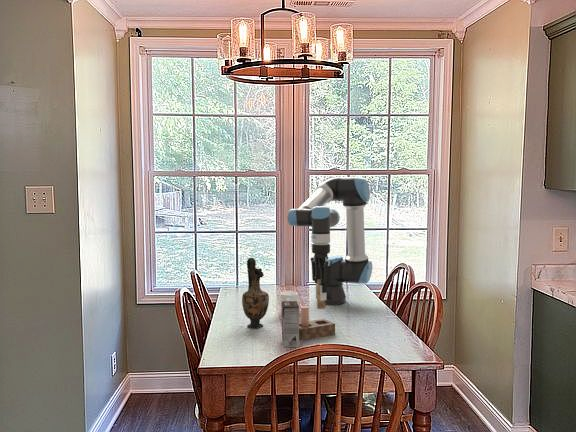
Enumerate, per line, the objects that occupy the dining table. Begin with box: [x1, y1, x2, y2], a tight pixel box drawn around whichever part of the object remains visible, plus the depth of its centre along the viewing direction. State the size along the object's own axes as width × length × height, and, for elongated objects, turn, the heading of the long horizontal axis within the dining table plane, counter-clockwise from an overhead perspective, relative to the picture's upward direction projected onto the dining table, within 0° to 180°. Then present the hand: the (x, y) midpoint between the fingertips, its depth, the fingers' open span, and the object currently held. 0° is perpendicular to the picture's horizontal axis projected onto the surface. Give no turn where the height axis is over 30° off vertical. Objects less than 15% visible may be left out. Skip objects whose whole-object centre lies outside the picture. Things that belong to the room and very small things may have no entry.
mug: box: [279, 290, 299, 316], centre depth 258 cm, size 12×8×10 cm
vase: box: [241, 257, 270, 330], centre depth 241 cm, size 12×12×30 cm
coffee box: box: [280, 301, 300, 348], centre depth 217 cm, size 9×6×16 cm
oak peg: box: [316, 279, 326, 310], centre depth 229 cm, size 3×3×12 cm
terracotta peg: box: [300, 305, 310, 327], centre depth 227 cm, size 3×3×12 cm
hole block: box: [299, 318, 336, 341], centre depth 229 cm, size 16×9×4 cm, turn 118°
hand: (321, 299), depth 229 cm, fingers closed on oak peg, 3 cm apart
